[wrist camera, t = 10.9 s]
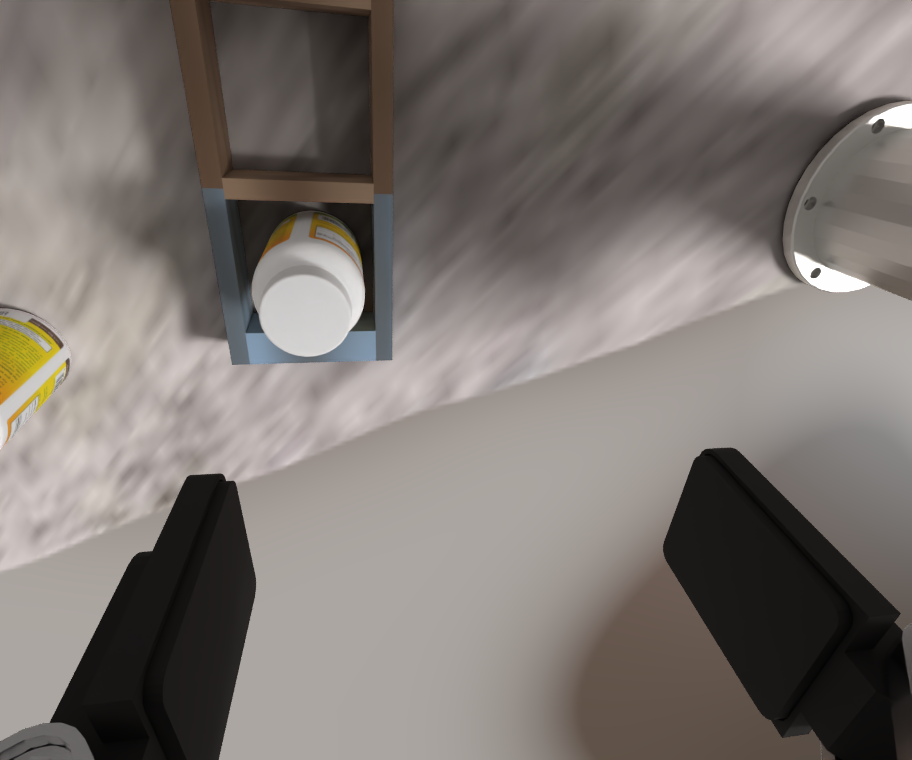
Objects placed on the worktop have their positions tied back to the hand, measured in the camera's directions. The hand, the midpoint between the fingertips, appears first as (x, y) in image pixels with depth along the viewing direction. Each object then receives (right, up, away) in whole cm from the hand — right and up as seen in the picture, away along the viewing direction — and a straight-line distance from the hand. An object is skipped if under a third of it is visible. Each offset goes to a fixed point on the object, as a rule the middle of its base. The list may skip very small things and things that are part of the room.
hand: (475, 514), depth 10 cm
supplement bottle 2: (-9, +10, +21) cm, 25 cm away
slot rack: (-9, +14, +18) cm, 25 cm away
